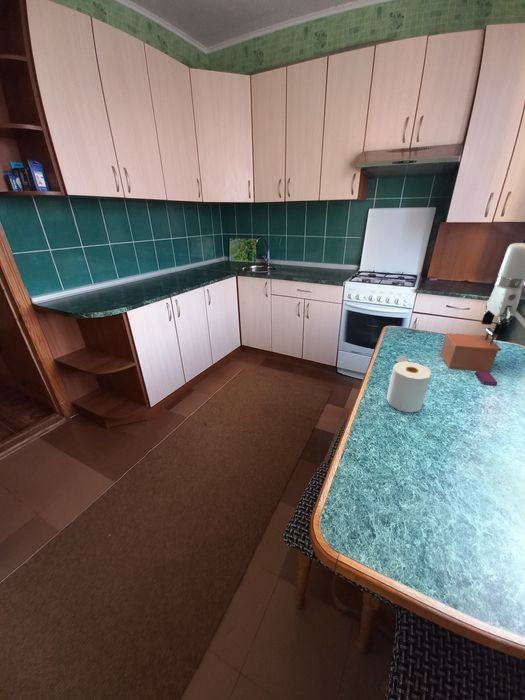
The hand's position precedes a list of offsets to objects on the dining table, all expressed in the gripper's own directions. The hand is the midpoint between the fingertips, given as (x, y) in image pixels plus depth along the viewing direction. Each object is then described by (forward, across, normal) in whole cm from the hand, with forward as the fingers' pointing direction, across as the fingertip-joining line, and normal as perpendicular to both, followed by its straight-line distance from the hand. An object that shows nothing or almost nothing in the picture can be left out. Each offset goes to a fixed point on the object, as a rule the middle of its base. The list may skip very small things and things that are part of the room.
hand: (491, 329), depth 105 cm
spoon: (+15, -11, +31) cm, 36 cm away
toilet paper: (+15, -32, +32) cm, 48 cm away
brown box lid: (+6, 0, +5) cm, 8 cm away
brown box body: (+15, 0, +5) cm, 16 cm away
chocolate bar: (+15, -12, +2) cm, 19 cm away
